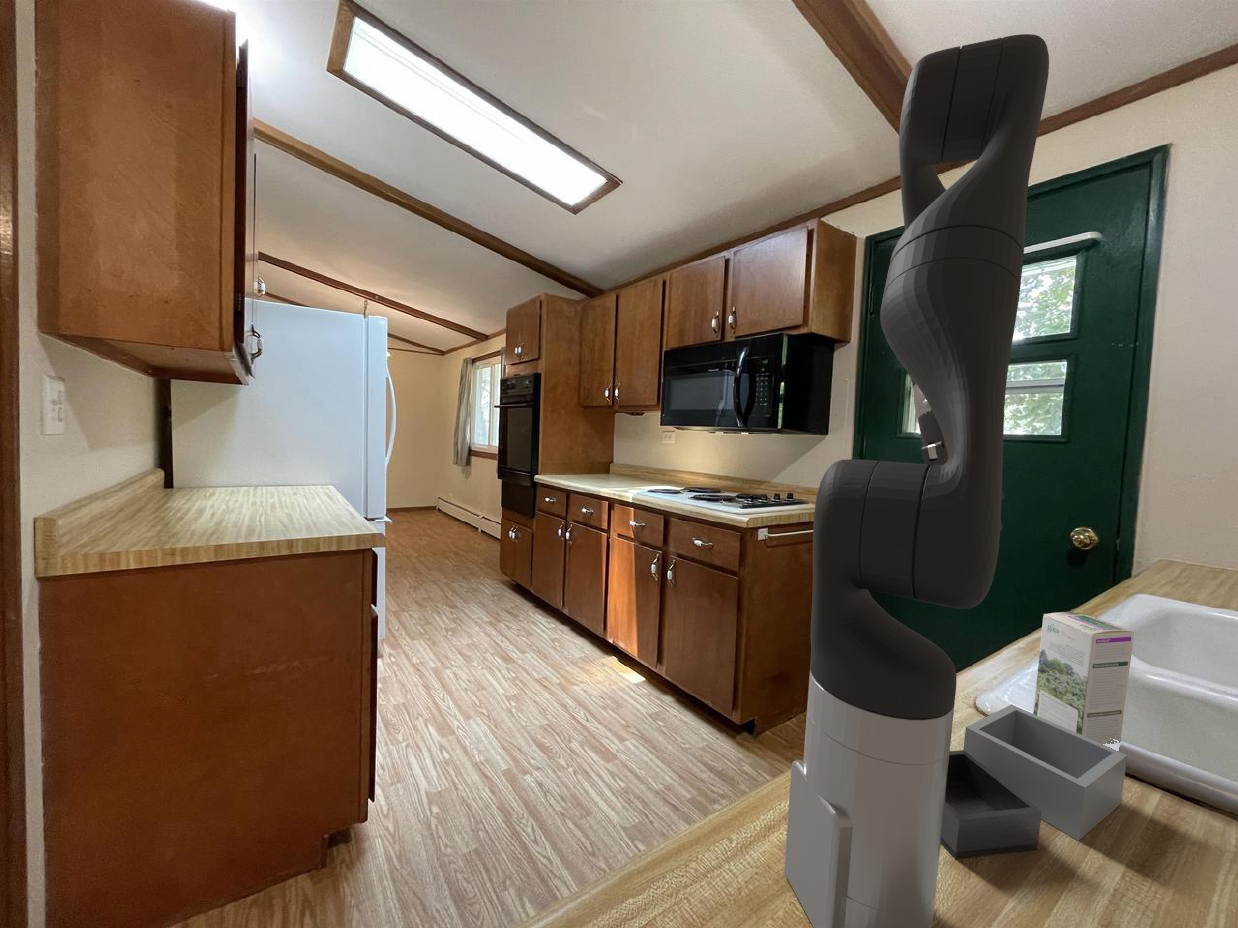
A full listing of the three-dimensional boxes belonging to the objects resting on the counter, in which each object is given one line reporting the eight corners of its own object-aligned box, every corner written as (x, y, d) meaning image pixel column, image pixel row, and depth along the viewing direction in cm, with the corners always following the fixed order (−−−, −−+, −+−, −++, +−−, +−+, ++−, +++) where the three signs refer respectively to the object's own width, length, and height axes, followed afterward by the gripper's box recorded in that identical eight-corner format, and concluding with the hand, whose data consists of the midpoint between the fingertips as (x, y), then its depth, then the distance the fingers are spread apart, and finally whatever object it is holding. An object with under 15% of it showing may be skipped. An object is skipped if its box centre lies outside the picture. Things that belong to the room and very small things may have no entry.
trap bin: (955, 858, 42) (959, 819, 42) (889, 788, 50) (892, 755, 49) (1037, 849, 43) (1041, 811, 43) (960, 782, 51) (963, 749, 51)
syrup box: (1122, 754, 56) (1138, 630, 55) (1078, 758, 55) (1093, 632, 54) (1069, 724, 62) (1082, 610, 61) (1028, 727, 61) (1041, 611, 60)
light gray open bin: (1078, 840, 44) (1085, 787, 44) (961, 772, 53) (965, 726, 52) (1120, 803, 49) (1127, 755, 48) (1006, 746, 57) (1011, 704, 57)
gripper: (950, 389, 62) (981, 518, 57) (1004, 412, 69) (1036, 529, 64) (892, 411, 68) (916, 529, 63) (947, 430, 75) (972, 538, 70)
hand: (976, 529), depth 64 cm, fingers open, 8 cm apart
